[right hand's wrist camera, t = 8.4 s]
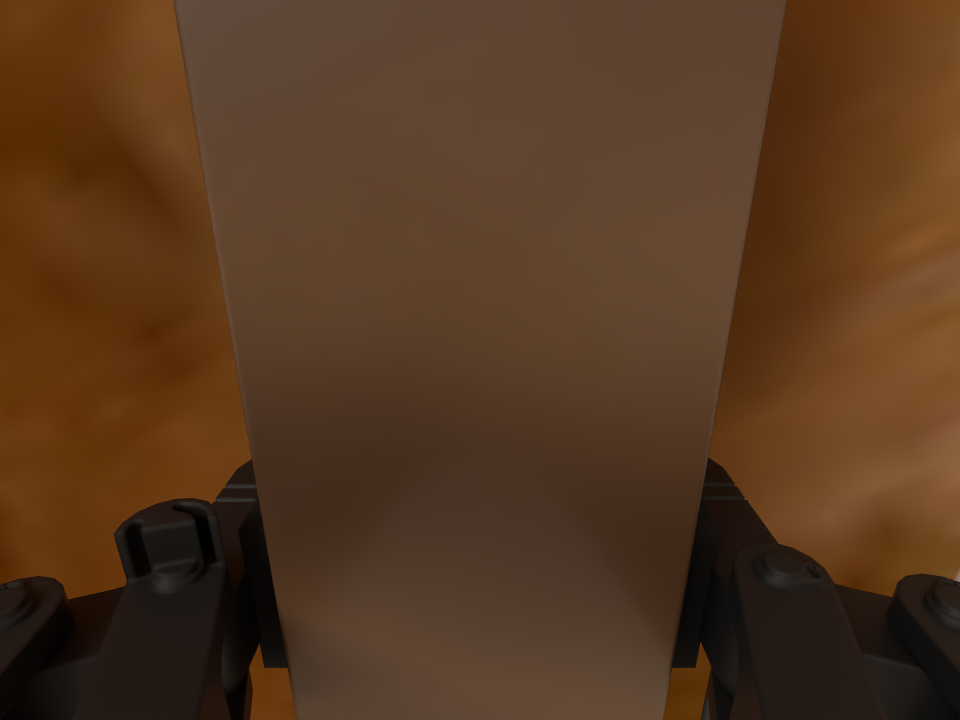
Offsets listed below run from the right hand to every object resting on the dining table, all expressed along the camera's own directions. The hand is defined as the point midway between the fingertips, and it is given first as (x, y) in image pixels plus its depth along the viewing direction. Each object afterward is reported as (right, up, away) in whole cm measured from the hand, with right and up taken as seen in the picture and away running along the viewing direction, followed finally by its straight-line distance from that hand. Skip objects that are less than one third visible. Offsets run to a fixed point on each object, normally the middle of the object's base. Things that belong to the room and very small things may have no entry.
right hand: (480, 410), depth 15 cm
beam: (0, +20, -8) cm, 22 cm away
